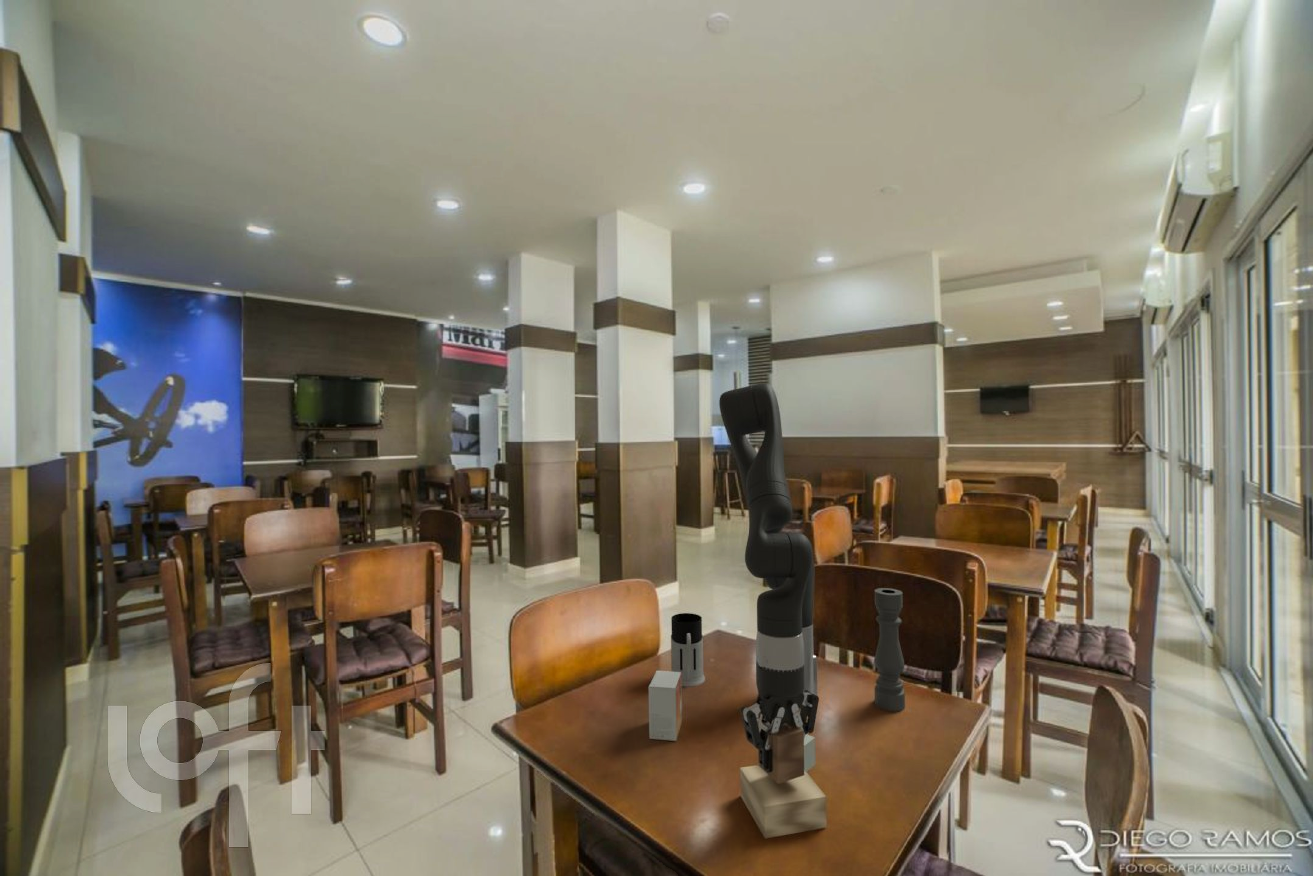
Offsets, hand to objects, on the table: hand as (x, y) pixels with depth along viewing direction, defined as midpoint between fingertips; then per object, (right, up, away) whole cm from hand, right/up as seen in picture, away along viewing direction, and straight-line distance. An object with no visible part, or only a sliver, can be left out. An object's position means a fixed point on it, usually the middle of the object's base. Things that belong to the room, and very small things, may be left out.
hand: (781, 764), depth 88 cm
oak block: (0, -8, 0) cm, 8 cm away
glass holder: (-12, -8, +46) cm, 48 cm away
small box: (-18, -8, +25) cm, 31 cm away
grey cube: (+5, -7, +12) cm, 15 cm away
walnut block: (0, -1, 0) cm, 1 cm away
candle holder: (+32, -7, +34) cm, 47 cm away
